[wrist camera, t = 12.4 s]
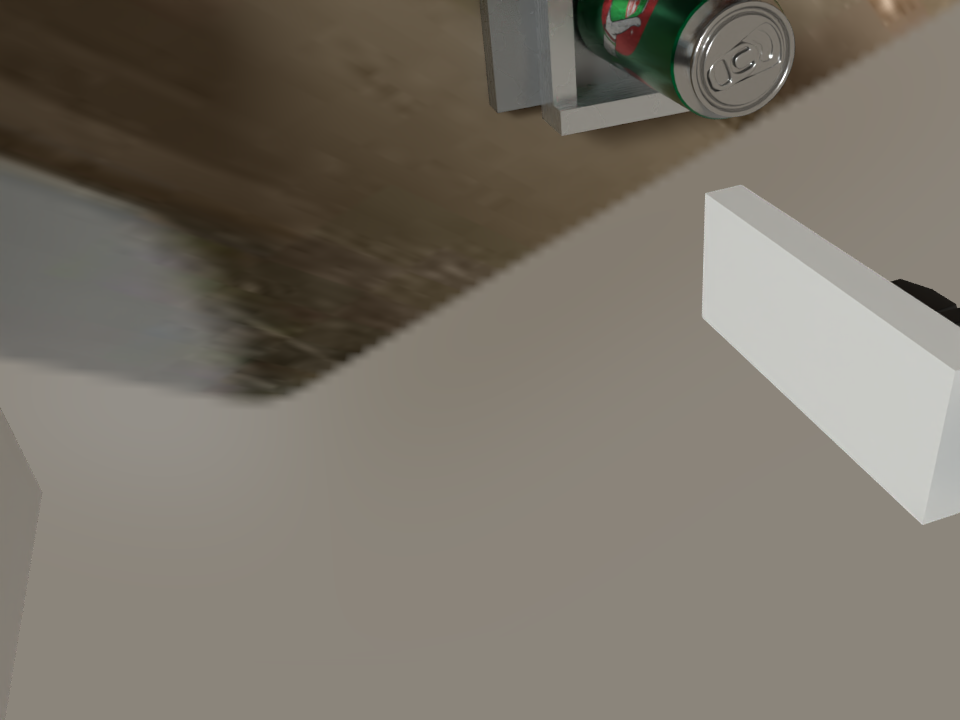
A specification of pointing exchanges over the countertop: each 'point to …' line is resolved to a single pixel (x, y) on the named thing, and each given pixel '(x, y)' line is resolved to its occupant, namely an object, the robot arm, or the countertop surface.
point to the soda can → (695, 49)
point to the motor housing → (559, 69)
